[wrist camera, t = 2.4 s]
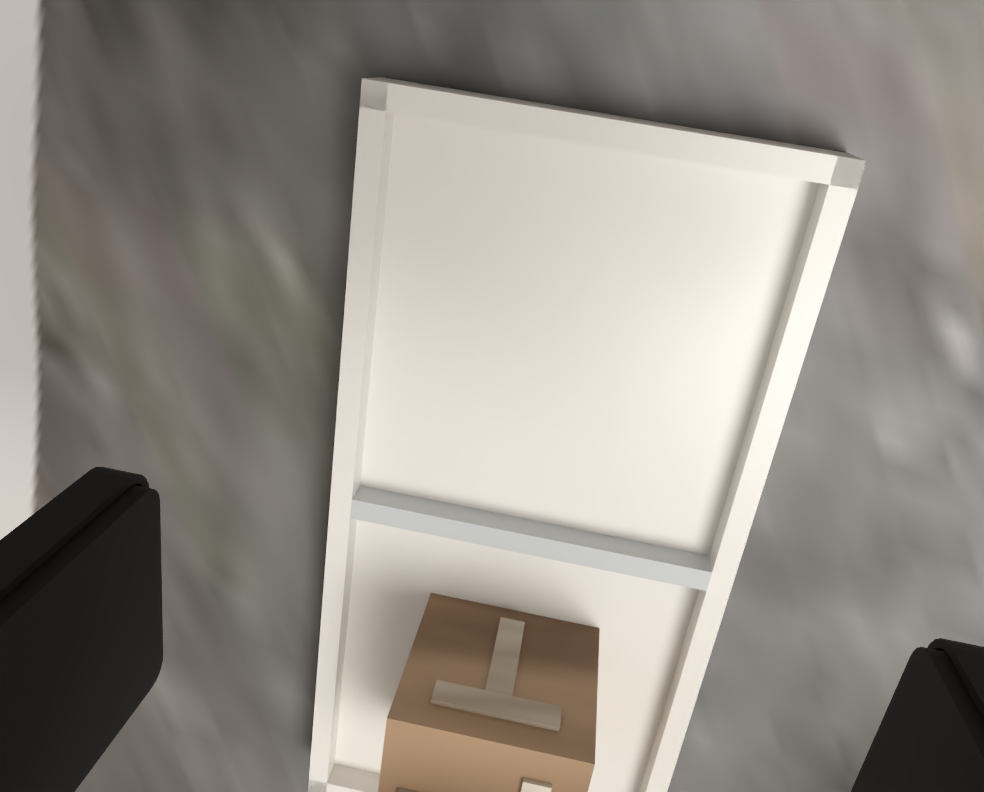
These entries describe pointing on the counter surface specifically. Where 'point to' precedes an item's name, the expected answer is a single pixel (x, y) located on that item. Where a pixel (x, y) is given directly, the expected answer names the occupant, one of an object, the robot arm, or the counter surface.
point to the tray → (559, 394)
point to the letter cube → (493, 703)
